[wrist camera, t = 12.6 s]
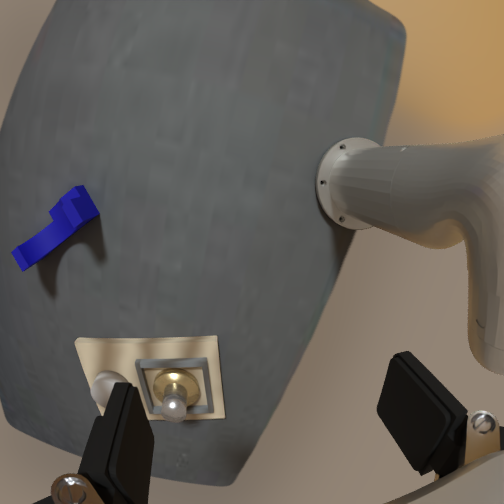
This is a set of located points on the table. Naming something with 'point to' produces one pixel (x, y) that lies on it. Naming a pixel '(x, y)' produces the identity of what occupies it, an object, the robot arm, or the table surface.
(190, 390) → the gold and silver knob
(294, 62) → the table surface
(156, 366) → the carrier plate
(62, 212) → the cable clip
